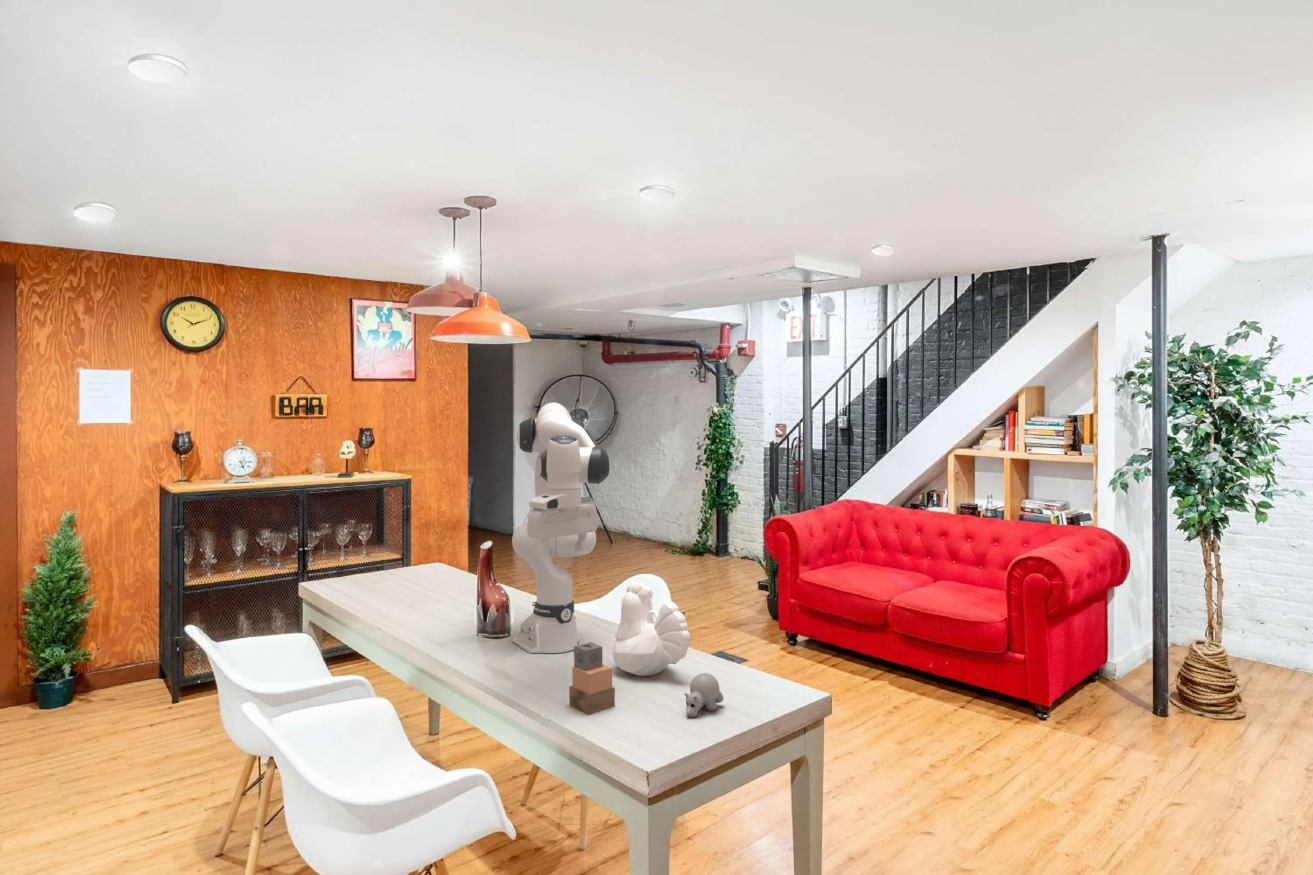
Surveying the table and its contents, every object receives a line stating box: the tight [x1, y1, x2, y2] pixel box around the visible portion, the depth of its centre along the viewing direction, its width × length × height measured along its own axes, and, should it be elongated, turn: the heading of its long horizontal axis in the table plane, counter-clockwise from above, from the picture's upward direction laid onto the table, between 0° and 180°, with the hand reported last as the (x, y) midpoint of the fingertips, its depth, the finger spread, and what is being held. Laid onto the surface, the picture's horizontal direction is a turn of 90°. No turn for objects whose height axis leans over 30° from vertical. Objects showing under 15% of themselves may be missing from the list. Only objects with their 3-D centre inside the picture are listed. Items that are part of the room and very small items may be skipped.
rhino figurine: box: [684, 672, 724, 718], centre depth 186 cm, size 7×12×8 cm, turn 140°
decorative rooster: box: [612, 581, 691, 677], centre depth 211 cm, size 25×16×25 cm, turn 35°
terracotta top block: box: [571, 663, 613, 695], centre depth 189 cm, size 7×7×5 cm
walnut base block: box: [568, 685, 616, 716], centre depth 189 cm, size 8×8×5 cm
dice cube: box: [573, 641, 603, 671], centre depth 189 cm, size 5×5×5 cm
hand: (563, 552), depth 196 cm, fingers open, 8 cm apart
